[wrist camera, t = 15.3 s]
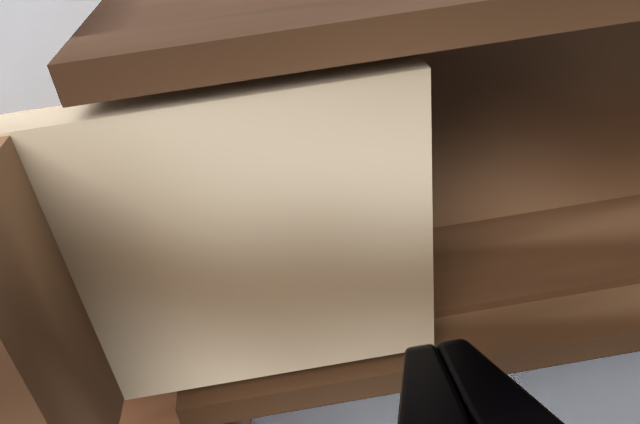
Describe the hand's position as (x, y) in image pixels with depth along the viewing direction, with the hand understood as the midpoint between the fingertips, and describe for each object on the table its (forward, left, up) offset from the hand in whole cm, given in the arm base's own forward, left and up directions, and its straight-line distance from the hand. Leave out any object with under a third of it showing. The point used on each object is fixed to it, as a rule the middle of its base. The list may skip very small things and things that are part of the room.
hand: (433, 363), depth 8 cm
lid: (+1, +6, -3) cm, 7 cm away
